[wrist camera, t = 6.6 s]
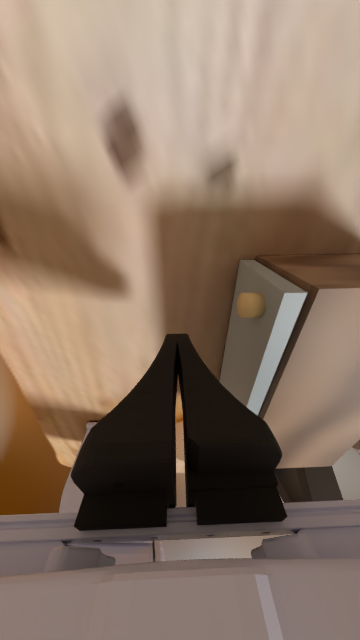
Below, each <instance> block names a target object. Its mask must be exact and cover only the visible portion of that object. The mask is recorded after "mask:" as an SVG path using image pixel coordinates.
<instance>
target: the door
mask: <svg viewBox="0 0 360 640" xmlns="http://www.w3.org/2000/svg"><path fill="white" fill-rule="evenodd" d="M306 295H307V292H306V291H304V290H302V289H301V288H299V287H297V286H296V285H294V284H293V283H291V282H289V281H288V280H286V279H284V278H283V277H281V276H280V275H278V274H276V273H275V272H273V271H271V270H270V269H268V268H266V267H265V266H263V265H262V264H260V263H258V262H257V261H255V260H240V263H239V269H238V275H237V281H236V287H235V293H234V299H233V304H232V310H231V316H230V322H229V328H228V334H227V339H226V345H225V351H224V357H223V363H222V369H221V375H220V380H219V382H220V383H221V384H222V385H223V386H224V387H225V388H226V389H227V390H228V391H229V392H230V393H231V394H232V395H233V396H234V397H235V398H236V399H238V400H239V401H240V402H241V403H242V404H243V405H245V406H246V407H247V408H248V409H249V410H251V411H252V412H253V413H255V414H256V415H257V416H258V413H259V411H260V408H261V406H262V403H263V401H264V399H265V396H266V394H267V391H268V389H269V386H270V384H271V381H272V379H273V376H274V374H275V372H276V369H277V367H278V364H279V362H280V359H281V357H282V354H283V352H284V349H285V347H286V344H287V342H288V340H289V337H290V335H291V332H292V330H293V327H294V325H295V322H296V320H297V317H298V315H299V312H300V310H301V308H302V305H303V303H304V300H305V298H306Z"/></svg>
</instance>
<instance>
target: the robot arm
mask: <svg viewBox="0 0 360 640" xmlns="http://www.w3.org/2000/svg"><path fill="white" fill-rule="evenodd" d="M178 376H179V384H180V392H181V400H182V409H183V427H184V455H185V480H186V481H185V482H186V507H181V508H175V507H176V441H175V440H176V436H175V407H176V393H177V380H178ZM86 428H87V431H86V434H85V436H84V439H83V441H82V444H81V446H80V449H79V451H78V454H77V456H76V459H75V461H74V464H73V466H72V469H71V471H70V474H69V477H68V479H67V482H66V484H65V487H64V491H63V494H62V499H61V503H60V510H59V513H50V514H49V513H48V514H25V515H2V516H0V640H360V500H338V501H315V502H293V503H282V500H281V498H280V495H279V492H278V490H277V486H278V481H277V478H276V476H275V473H274V470H275V469H276V467H277V466H278V464H279V463H280V461H281V458H282V451H281V449H280V446H279V444H278V442H277V440H276V438H275V436H274V435H273V433H272V431H271V429H270V428H269V426H268V424H267V423H266V422H265V421H264V420H263V419H261V418H260V417H259V416H257V415H256V414H255V413H253V412H252V411H251V410H249V409H248V408H247V407H246V406H245V405H243V404H242V403H241V402H240V401H239V400H238V399H236V398H235V397H234V396H233V395H232V394H231V393H230V392H229V391H228V390H227V389H226V388H225V387H224V386H223V385H222V384H221V383H220V382H219V381H218V380H217V379H216V377H215V376H214V375H213V374H212V373H211V372H210V370H209V369H208V368H207V366H206V365H205V364H204V362H203V361H202V359H201V358H200V356H199V355H198V353H197V352H196V350H195V348H194V347H193V345H192V343H191V341H190V338H189V335H188V334H167V335H166V337H165V340H164V342H163V345H162V347H161V349H160V351H159V353H158V355H157V356H156V358H155V360H154V361H153V363H152V365H151V366H150V368H149V369H148V371H147V372H146V373H145V375H144V376H143V377H142V379H141V380H140V381H139V382H138V384H137V385H136V386H135V387H134V388H133V389H132V391H131V392H130V393H129V394H128V395H127V396H126V397H125V398H124V399H123V400H122V401H121V402H120V403H119V404H118V405H117V406H116V407H115V408H114V409H113V410H112V411H111V412H110V413H108V414H107V415H106V416H105V417H104V418H103V419H101V420H100V421H99V422H89V423H87V424H86ZM283 534H291V535H286V536H280V537H274V538H268V539H263V541H262V545H261V546H260V547H257V548H255V549H253V550H252V551H251V556H252V558H246V559H245V558H243V559H197V560H176V561H164V553H163V547H162V544H161V543H160V541H159V540H179V539H200V538H220V537H240V536H262V535H283Z"/></svg>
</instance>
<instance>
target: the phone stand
mask: <svg viewBox="0 0 360 640" xmlns="http://www.w3.org/2000/svg"><path fill="white" fill-rule="evenodd" d="M274 473H275V476H276V478H277V481H278V486H277V490H278V492H279V495H280V496H281V498H282V500H283V501H284V503H293V502H315V501H338V500H343V498H342V495H341V492H340V489H339V486H338V483H337V480H336V477H335V474H334V471H333V468H332V466H327V467H302V468H276V469H275V470H274Z"/></svg>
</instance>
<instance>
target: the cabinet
mask: <svg viewBox="0 0 360 640" xmlns="http://www.w3.org/2000/svg"><path fill="white" fill-rule="evenodd" d="M256 261H257V262H258V263H260V264H262V265H263V266H265V267H266V268H268V269H270V270H271V271H273V272H275V273H276V274H278V275H280V276H281V277H283V278H284V279H286V280H288V281H289V282H291V283H293V284H294V285H296V286H297V287H299V288H301V289H302V290H304V291H306V292H307V295H306V298H305V300H304V303H303V305H302V308H301V310H300V312H299V315H298V317H297V320H296V322H295V325H294V327H293V330H292V332H291V335H290V337H289V340H288V342H287V344H286V347H285V349H284V352H283V354H282V357H281V359H280V362H279V364H278V367H277V369H276V372H275V374H274V376H273V379H272V381H271V384H270V386H269V389H268V391H267V394H266V396H265V399H264V401H263V403H262V406H261V408H260V411H259V413H258V416H259V417H260V418H261V419H263V420H264V421H265V422H266V423H267V424H268V426H269V428H270V429H271V431H272V433H273V435H274V436H275V438H276V440H277V442H278V444H279V446H280V449H281V451H282V458H281V461H280V463H279V464H278V466H277V467H276V468H302V467H327V466H332V465H333V464H334V463H335V462H336V461H337V460H338V459H339V458H340V457H341V456H343V455H344V453H346V452H347V451H348V450H349V449H350V448H351V447H352V446H353V445H354V444H355V443H357V442H358V441H359V440H360V254H316V255H261V256H257V259H256Z"/></svg>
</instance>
